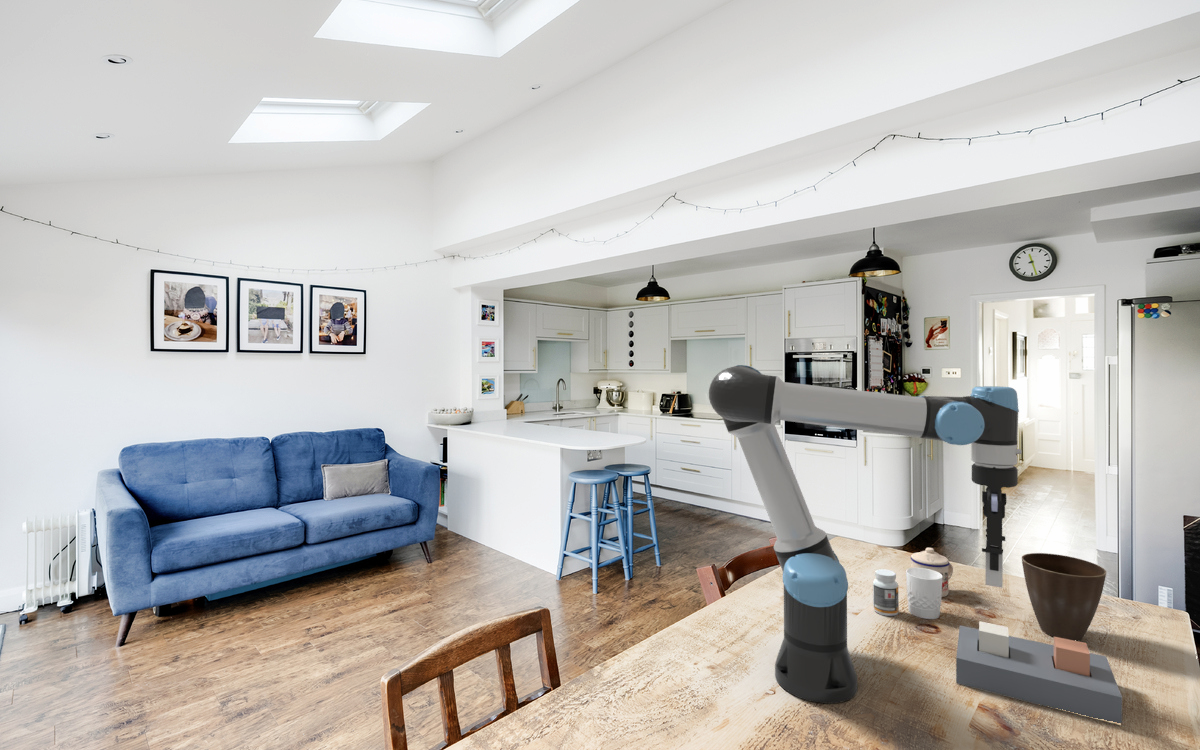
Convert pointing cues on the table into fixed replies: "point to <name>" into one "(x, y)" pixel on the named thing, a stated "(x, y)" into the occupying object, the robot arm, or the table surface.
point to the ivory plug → (993, 639)
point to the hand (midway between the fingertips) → (993, 578)
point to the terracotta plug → (1071, 656)
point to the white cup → (924, 592)
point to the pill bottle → (885, 593)
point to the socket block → (1038, 677)
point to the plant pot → (1063, 592)
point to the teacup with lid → (934, 565)
